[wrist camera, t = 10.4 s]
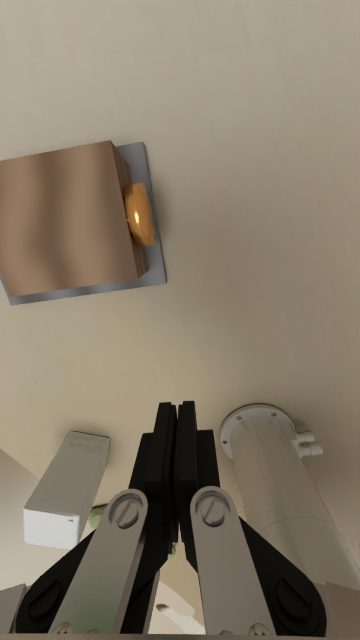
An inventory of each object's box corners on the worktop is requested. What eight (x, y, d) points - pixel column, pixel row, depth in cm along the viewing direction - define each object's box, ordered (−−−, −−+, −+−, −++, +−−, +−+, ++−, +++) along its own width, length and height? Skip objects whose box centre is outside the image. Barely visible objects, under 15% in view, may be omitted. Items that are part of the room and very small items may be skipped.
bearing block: (144, 146, 27) (128, 107, 19) (166, 282, 32) (160, 294, 24) (-31, 178, 28) (-112, 154, 21) (16, 303, 34) (-34, 321, 26)
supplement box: (69, 429, 41) (21, 507, 29) (111, 437, 41) (81, 517, 29) (67, 460, 43) (21, 544, 31) (106, 467, 43) (76, 553, 32)
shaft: (148, 189, 26) (137, 174, 20) (157, 244, 28) (150, 245, 22) (-18, 217, 27) (-71, 210, 22) (2, 268, 29) (-42, 274, 24)
